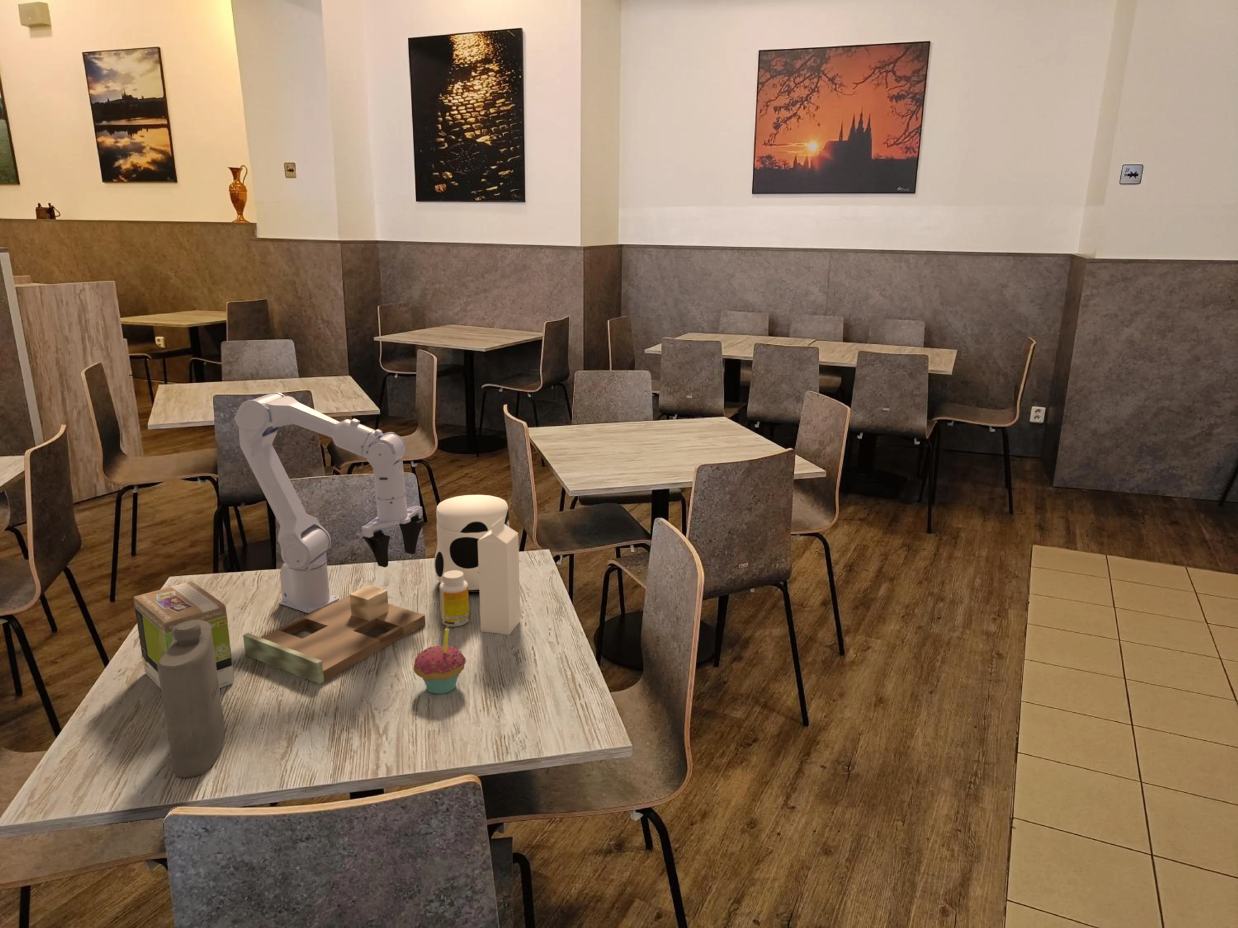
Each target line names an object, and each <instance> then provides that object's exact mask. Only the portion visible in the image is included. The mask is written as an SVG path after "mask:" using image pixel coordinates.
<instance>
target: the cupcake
mask: <svg viewBox="0 0 1238 928" xmlns="http://www.w3.org/2000/svg"><path fill="white" fill-rule="evenodd" d="M449 627H450V626H449V625H448V626H446V628H445V629H444V634H443V635H444V637H443V645H442V644H440V645H436V646H434V645H433V646H430V647H427V648H426V649H424V650H422V651H421V652H419V653H418V654H417V656H416V657H415V658H414V663H413V672H414V674H416V675H417V676H418V677H419V678H421V679H422V680H423V681H424V684H425V687H426V689H427V691H428V692H430V693H432V694H435V695H440V694H441V695H442V694H446V693H449V692H451V691H453V690H454V689H455V687H456V685H457V681H458V678H459V676H460V675H461V673H462V671H464V670H465V664H466V662H467V659H466V657H465V656H464V654H463V653H462V651H460V650H459V649H458V648H457V647H455V646H451V645H448V642H449V634H450V629H449Z"/></svg>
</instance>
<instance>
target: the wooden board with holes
mask: <svg viewBox="0 0 1238 928" xmlns="http://www.w3.org/2000/svg"><path fill="white" fill-rule="evenodd" d="M388 608H389V611H388V612H386V613H385V614H383V615H381V616H379V617H377V618H375V619H373V620H371V621H368V620H365V619H362V618H359V617H356V616H353V615H351V605H350V595H348V596H346V597H343V598H342V599H339V600H338V601H336V602H334V603H331V604H329V605H327V606H325V607H323V608H321V609H319V610H316V611H314V612H312V613H308V614H307V615H305V616H303V617H301V618H299V619H297V620H294V621H292V622H290V623H288V624H286V625H284V626H282V627H280V628H278V629H275V630H272V631H271V632H269V633H267V634H265V635H263V636H261V637H260V636H258V635H255V634H252V633H250V632H246V633H244V634H243V635H242V636H243V637H242V638H243V645H244V646H243V647H244V652H245V653H244V654H245V656H248V657H249V658H253V659H255V660H257V661H260V662H261V663H265V664H267V665H270V666H273V667H275V668H278V669H280V670H283V671H285V672H287V673H291V674H293V675H296V676H297V677H300V678H303V679H304V680H308V681H310V682H312V683H316V684H317V685H321V684H322V683H324V682H326V681H327V680H329V679H331V678H334V677H335V676H337V675H338V674H340V673H342V672H343V671H346V670H347V669H349V668H350V667H352V666H353V667H354V665H356V664H357V663H358V664H359V663H360V662H362V661H363V660H365V659H367V658H368V657H371V656H372V655H374V654H375V653H377V652H379V651H381V650H383V649H385V648H386V647H388V646H390V645H391V644H393V643H395V642H397V641H398V640H400V639H402V638H404V637H405V636H407V635H409V634H411V633H412V632H414V631H416V630H418V629H420V628H422V627H423V626H425V625H426V615H425V614H422V613H419V612H417V611H414V610H410V609H406V608H405V607H400V606H397V605H394V604H392V603H391V604H390V603H388Z"/></svg>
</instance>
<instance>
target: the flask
mask: <svg viewBox="0 0 1238 928" xmlns="http://www.w3.org/2000/svg"><path fill="white" fill-rule="evenodd" d="M157 669H158V675H159V681H160V687H161V688H160V687H159V688H160V694H161V699H162V706H163V712H164V717H165V718H164V719H165V724H166V731H167V737H168V742H169V749H170V756H171V762H172V768H173V774H174V775H175V776H177V777H180V778H183V779H188V778H190V779H191V778H194V777H197V776H198V777H199V776H200V775H202V774H204V773H206V772H207V771H208V770H210V768H211V767H212V766H213V765H214V764H215V763H216V761H217V759H218V757H219V756H220V754H221V751H222V749H223V746H224V744H225V743H224V742H225V737H226V729H225V721H224V720H225V719H224V713H223V706H222V700H221V691H220V688H219V683H218V675H217V668H216V661H215V653H214V646H213V639H212V631H211V626H210V624H209V623H208V622H206V621H203V620H191V621H186V622H183V623H180V624H178V625H177V626H175V627H174V628H173V629H172V642H171V644H170V647H169V649H168V650H167V652H166V653H165V654H164V655H163V657H162V658H161V659H160V660H159V661H158V663H157Z"/></svg>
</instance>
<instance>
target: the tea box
mask: <svg viewBox="0 0 1238 928" xmlns="http://www.w3.org/2000/svg"><path fill="white" fill-rule="evenodd" d="M133 603H134V605H133V606H134V611H135V617H136V624H137V631H138V637H139V645H140V650H141V651H140V652H141V657H142V658H141V659H142V664H143V671H144V673H145V674H146V675H147V676H148V677H149V679H151V680H152V682H154V683H155V685H157V687H158V688H159V689H161V687H160V681H159V675H158V669H157V663H158V661H159V660H160V659H161V658H162V657H163V655H164V654H165V653H166V652H167V650H168V649H169V647H170V644H171V642H172V629H173V628H174V627H175V626H177V625H178V624H180V623H183V622H186V621H191V620H203V621H206V622H208V623H209V624H210V626H211V631H212V639H213V646H214V653H215V661H216V668H217V675H218V683H219V689H222V688H224V687H228V686H230V685H231V684H234V683H235V677H234V676H235V673H234V667H233V665H234V664H233V657H232V656H233V655H232V648H231V642H230V641H231V640H230V631H229V625H228V614H227V607H226V605H225V604H224V603H223V602H222V601H221V600H219V598H216V597H215V596H214V595H212V594H211V593H210V592H208V591H207V590H205V589H203V588H202V587H201V586H200V585H198V584H196V582H194V581H187V582H184V583H180V584H176V585H172V586H169V587H165V588H162V589H157V590H153V591H150V592H146V593H142V594H139V595H135V596H133Z"/></svg>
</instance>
